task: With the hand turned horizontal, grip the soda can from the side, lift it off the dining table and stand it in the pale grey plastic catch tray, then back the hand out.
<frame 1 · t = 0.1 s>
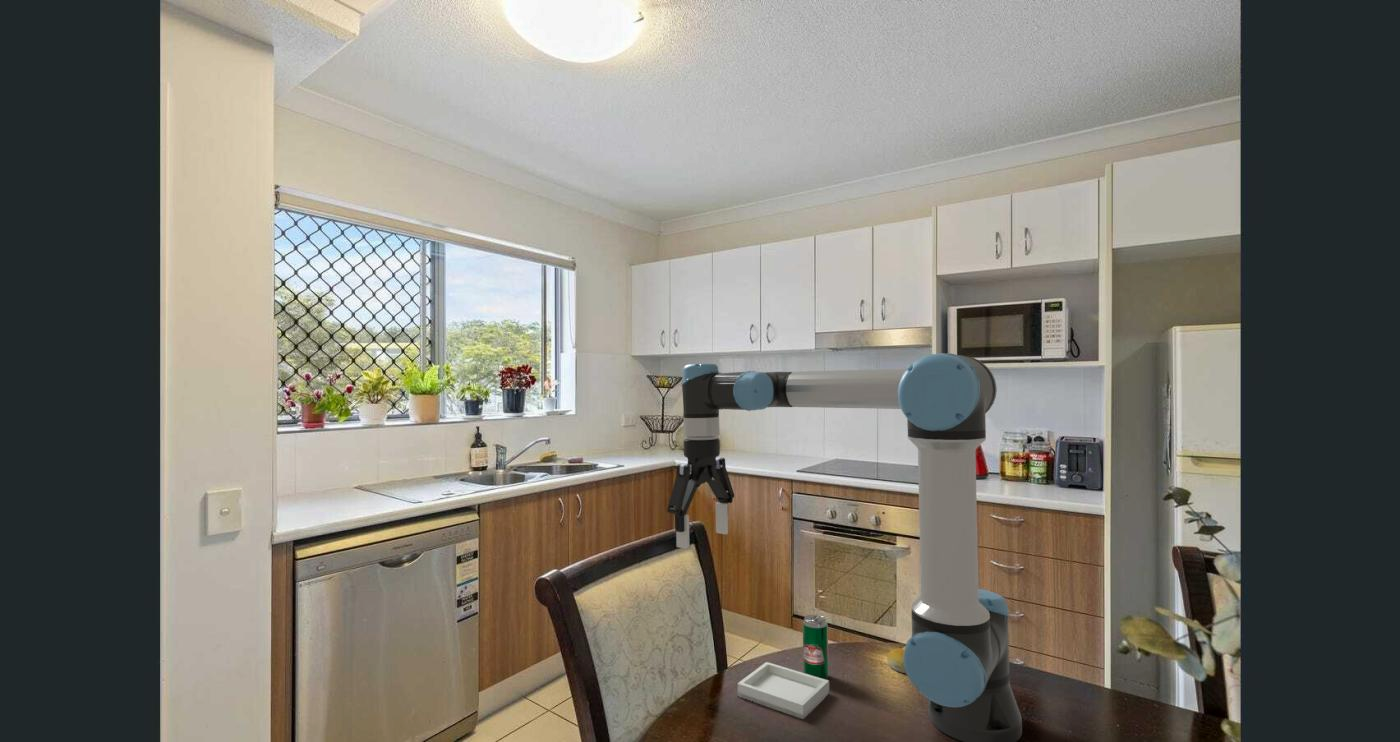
hand: (703, 540, 128), 28 cm above the table, tool pointing down, fingers open, 13 cm apart
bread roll: (910, 667, 130), on the table
catch tray: (783, 695, 119), on the table
soda can: (816, 678, 126), on the table
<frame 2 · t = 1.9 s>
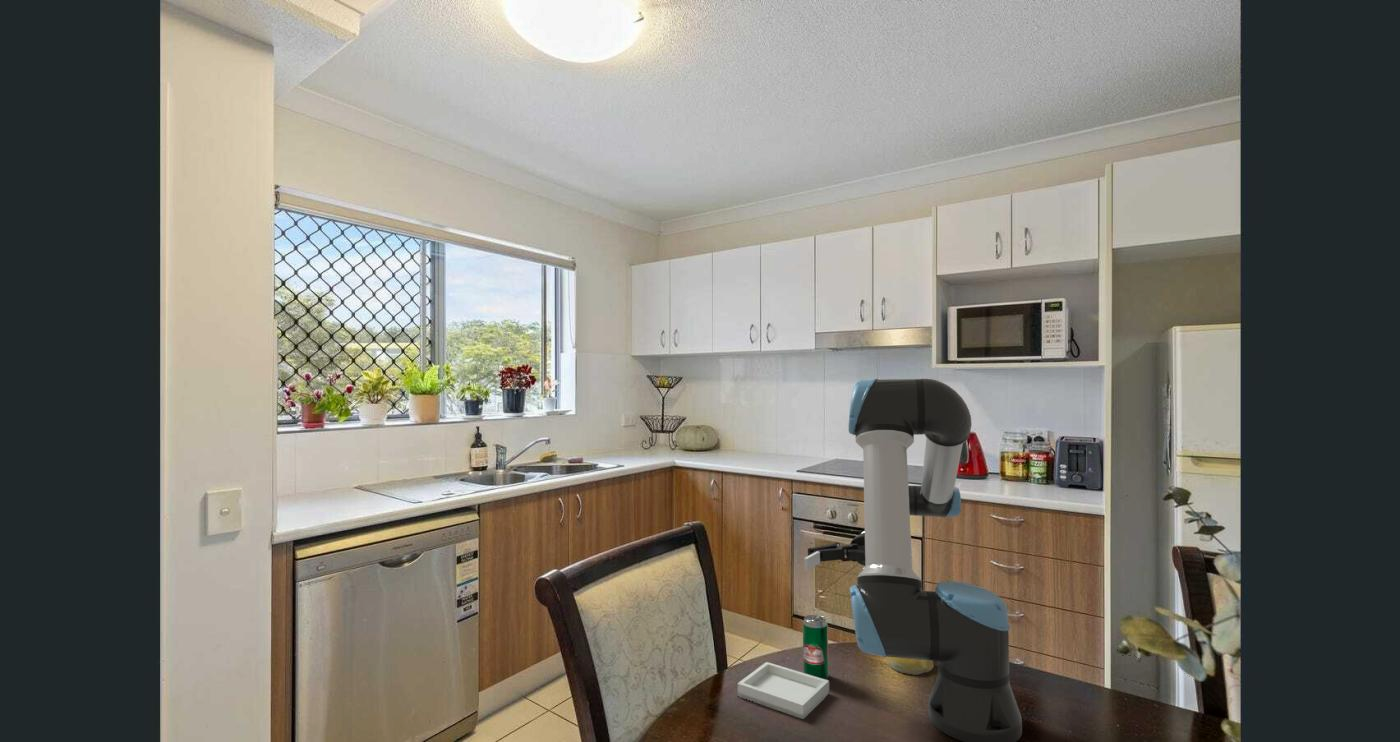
hand: (833, 569, 134), 19 cm above the table, tool horizontal, fingers open, 13 cm apart
nothing on the table moved.
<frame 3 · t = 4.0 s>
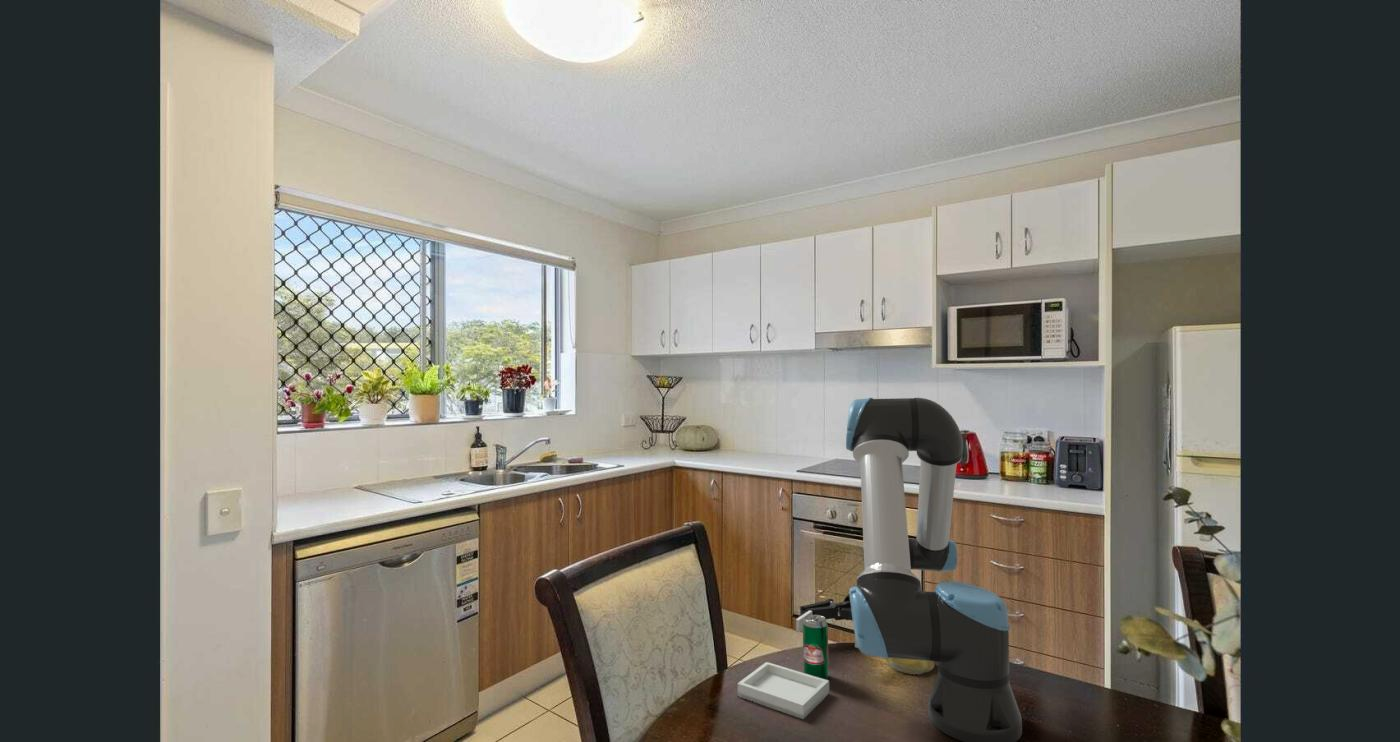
hand: (825, 633, 131), 7 cm above the table, tool horizontal, fingers open, 13 cm apart
nothing on the table moved.
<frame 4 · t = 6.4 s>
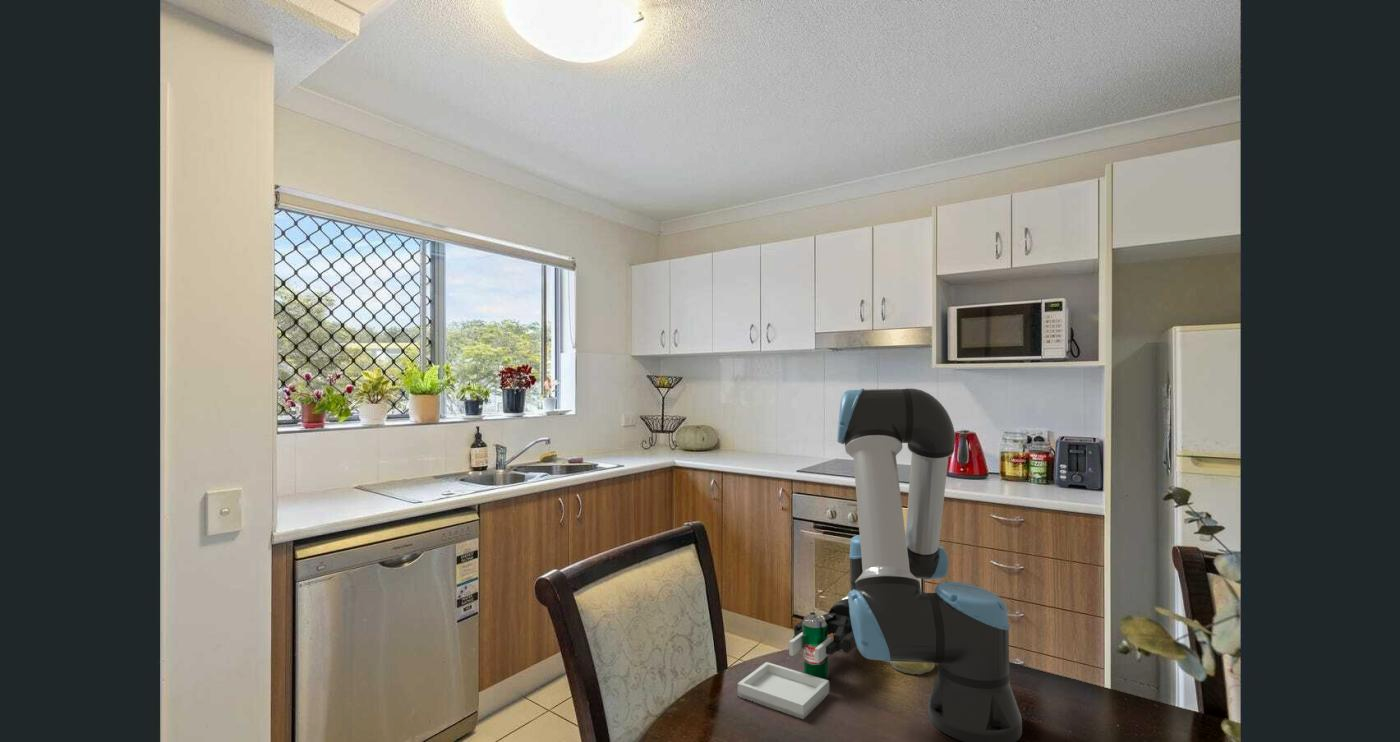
hand: (803, 652, 121), 7 cm above the table, tool horizontal, fingers closed on soda can, 5 cm apart
soda can: (816, 678, 126), on the table, touching gripper
everything else where it was.
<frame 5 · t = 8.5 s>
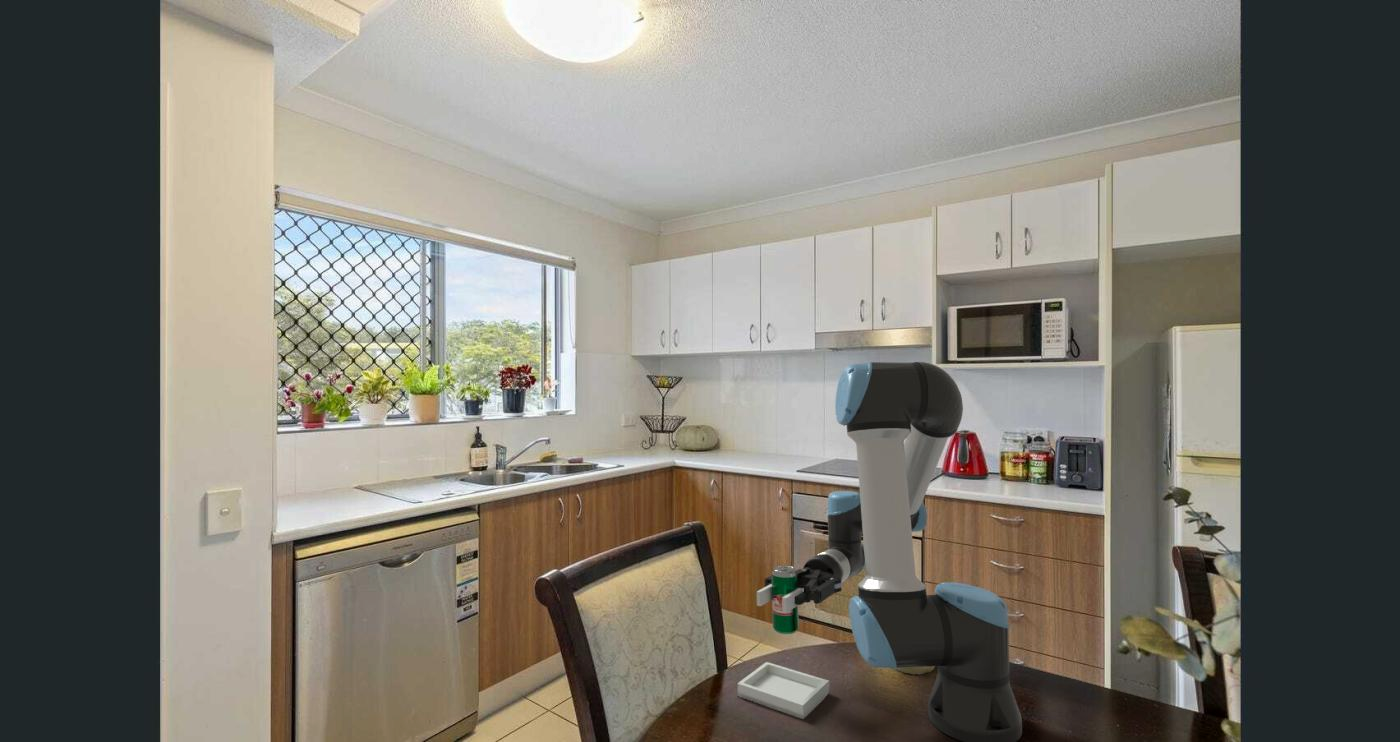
hand: (771, 601, 116), 19 cm above the table, tool horizontal, fingers closed on soda can, 5 cm apart
soda can: (785, 631, 120), point 12 cm above the table, touching gripper
everything else where it was.
when the fingers open (9 cm above the table, at t = 10.8 s): soda can drops 1 cm, resting on catch tray.
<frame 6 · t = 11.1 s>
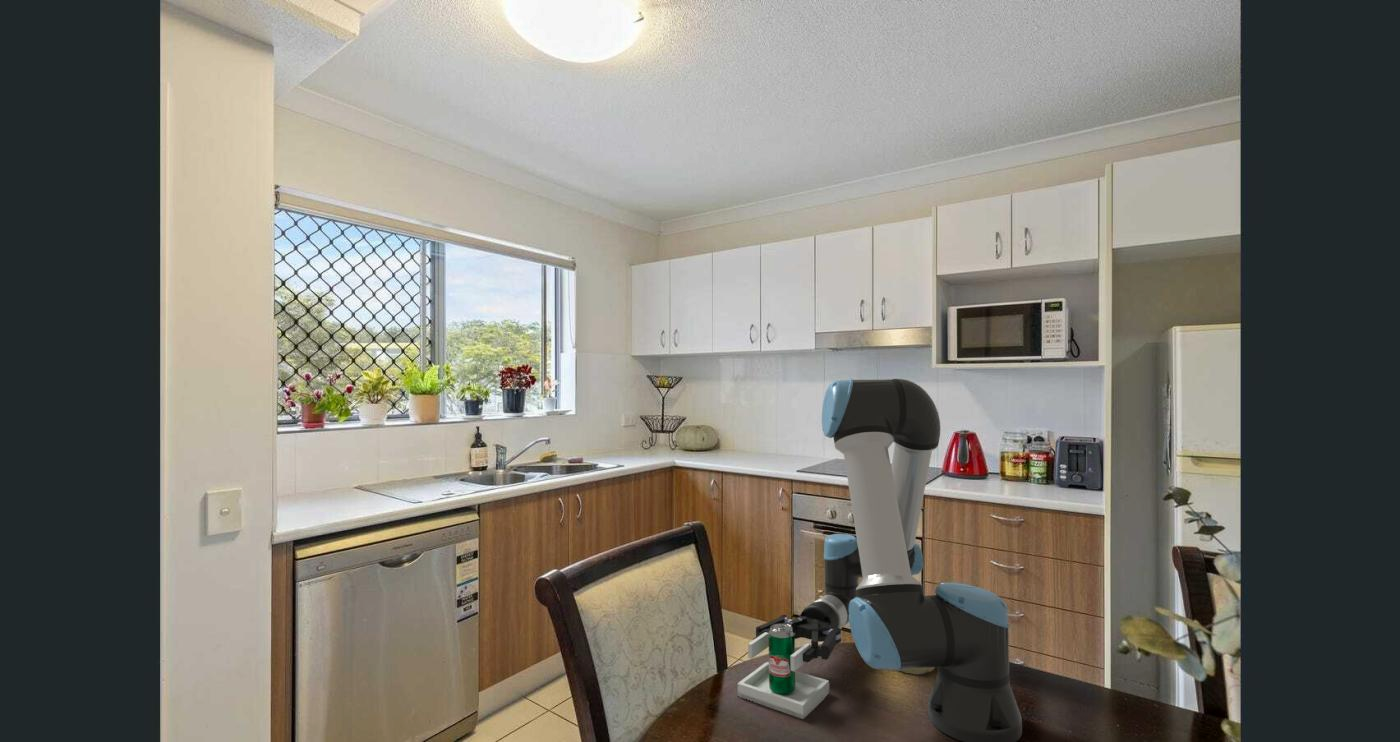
hand: (770, 657, 115), 9 cm above the table, tool horizontal, fingers open, 8 cm apart
soda can: (782, 691, 119), point 1 cm above the table, touching catch tray
everything else where it was.
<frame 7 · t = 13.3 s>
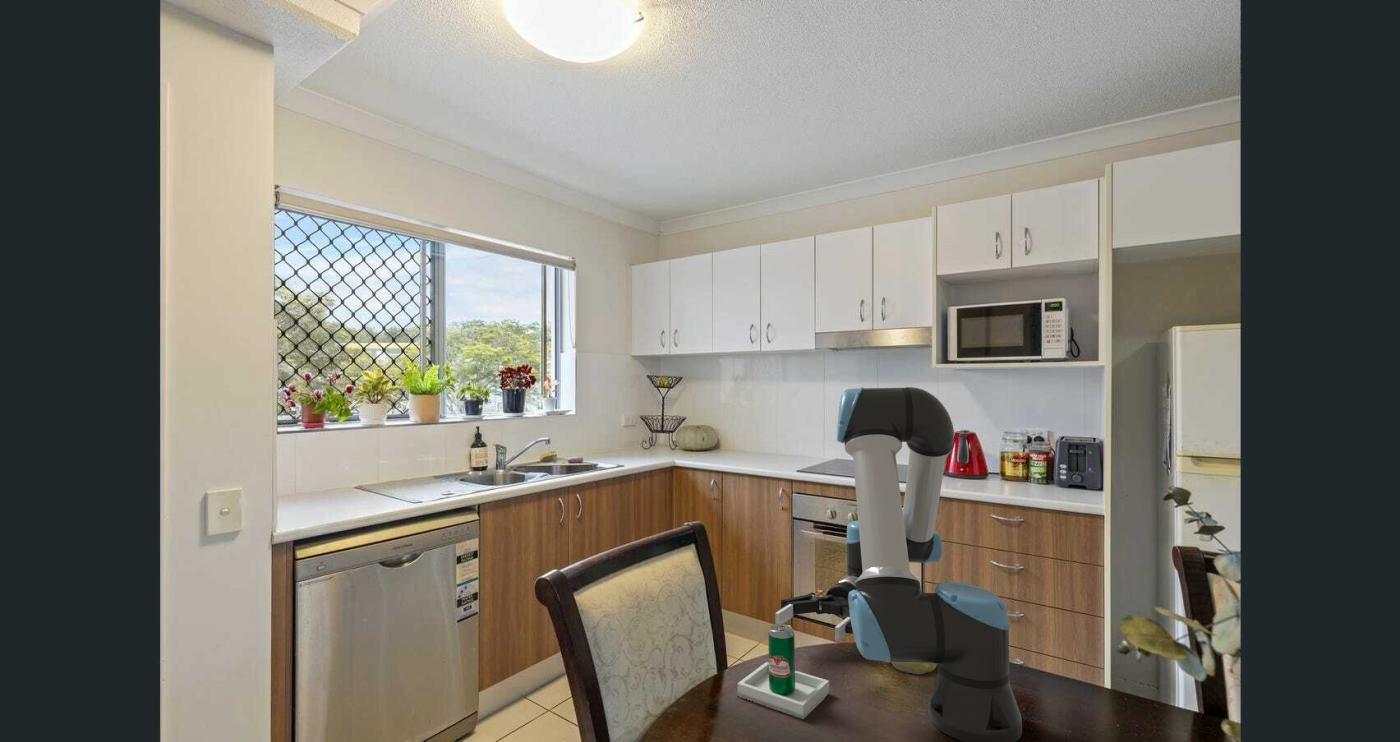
hand: (805, 626, 127), 10 cm above the table, tool horizontal, fingers open, 13 cm apart
nothing on the table moved.
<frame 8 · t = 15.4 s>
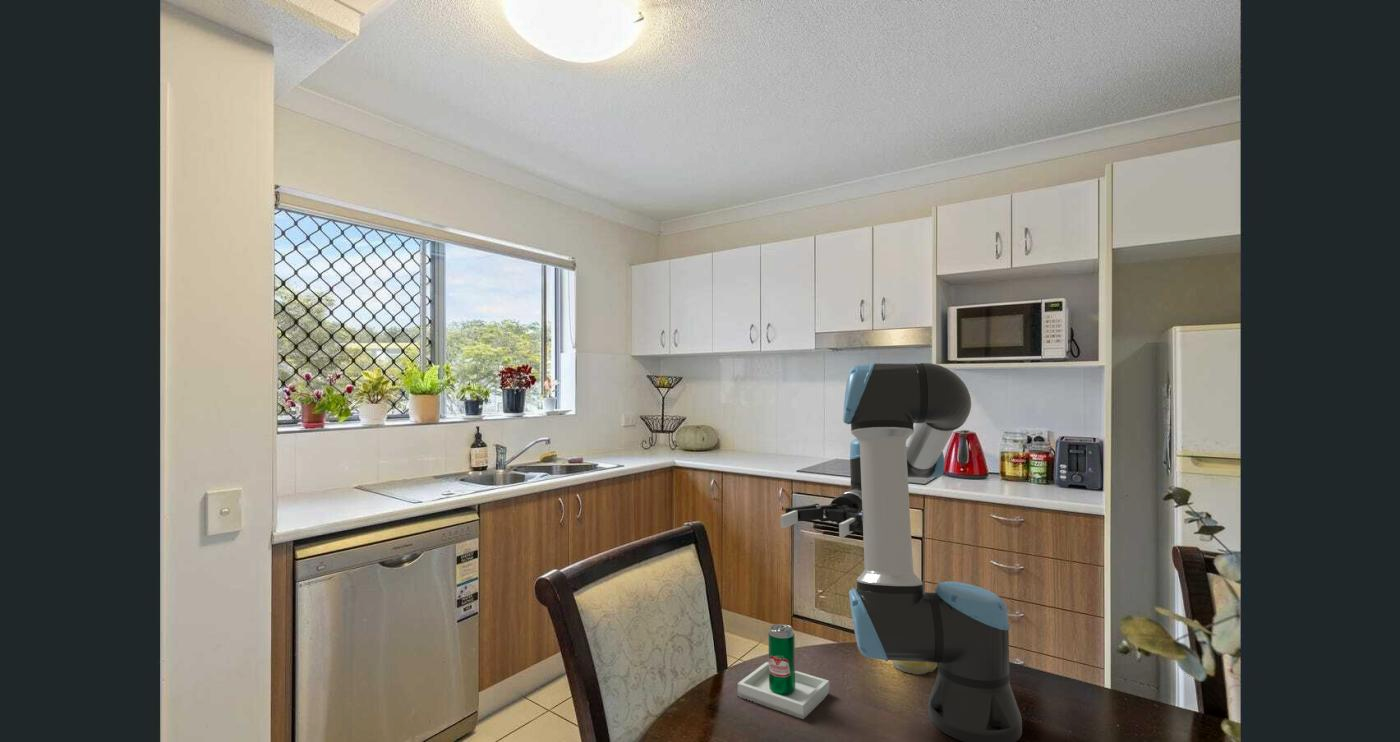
hand: (810, 526, 129), 30 cm above the table, tool horizontal, fingers open, 13 cm apart
nothing on the table moved.
at the end: soda can inside the target area on the catch tray (0.3 cm from its centre), point 0.6 cm above the catch tray's base; soda can tilted 0°; the gripper is holding nothing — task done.
